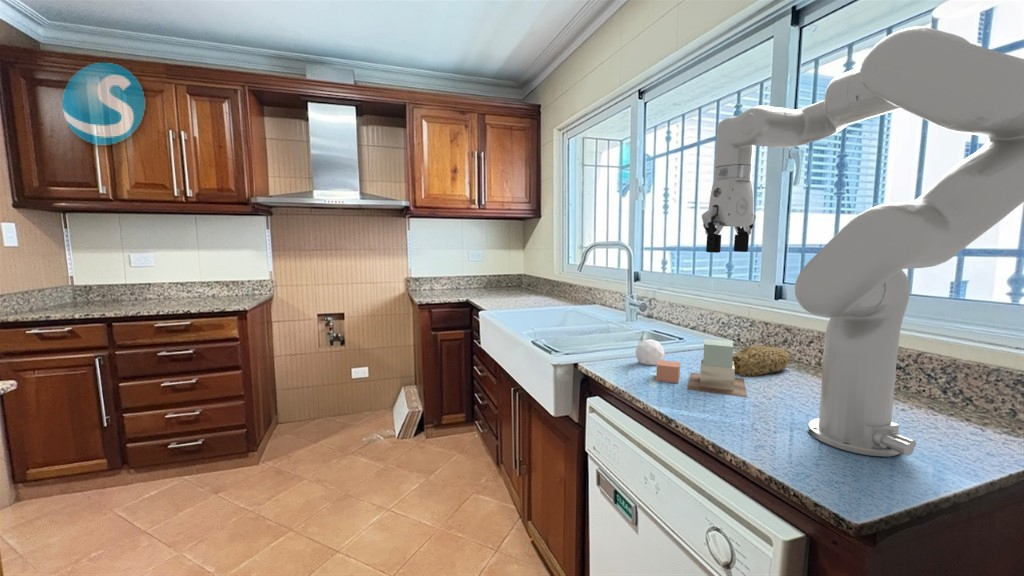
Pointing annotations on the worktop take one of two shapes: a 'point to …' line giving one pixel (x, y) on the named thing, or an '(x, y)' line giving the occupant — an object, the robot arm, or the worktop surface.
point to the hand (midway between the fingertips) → (727, 252)
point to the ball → (649, 352)
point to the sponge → (760, 360)
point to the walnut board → (738, 388)
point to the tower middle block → (718, 353)
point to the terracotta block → (668, 371)
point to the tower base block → (717, 377)
